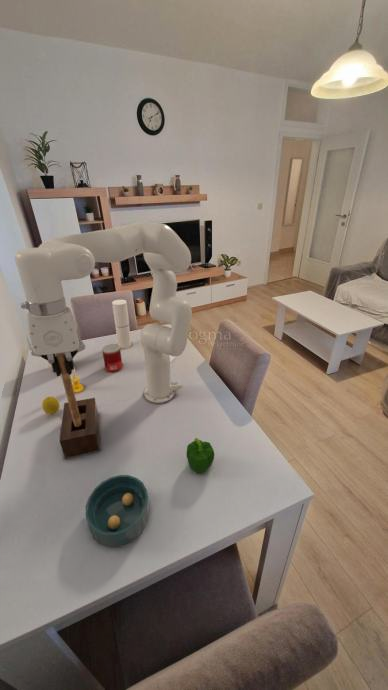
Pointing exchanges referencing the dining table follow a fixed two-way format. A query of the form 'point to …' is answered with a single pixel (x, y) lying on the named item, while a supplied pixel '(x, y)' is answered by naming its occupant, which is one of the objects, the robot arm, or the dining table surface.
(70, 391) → the stirring stick
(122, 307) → the cylindrical container
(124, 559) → the dining table surface
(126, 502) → the dough ball
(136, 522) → the bowl
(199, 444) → the bell pepper
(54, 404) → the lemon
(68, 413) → the stand
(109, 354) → the canned food
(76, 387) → the candle
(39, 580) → the dining table surface
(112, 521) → the dough ball
